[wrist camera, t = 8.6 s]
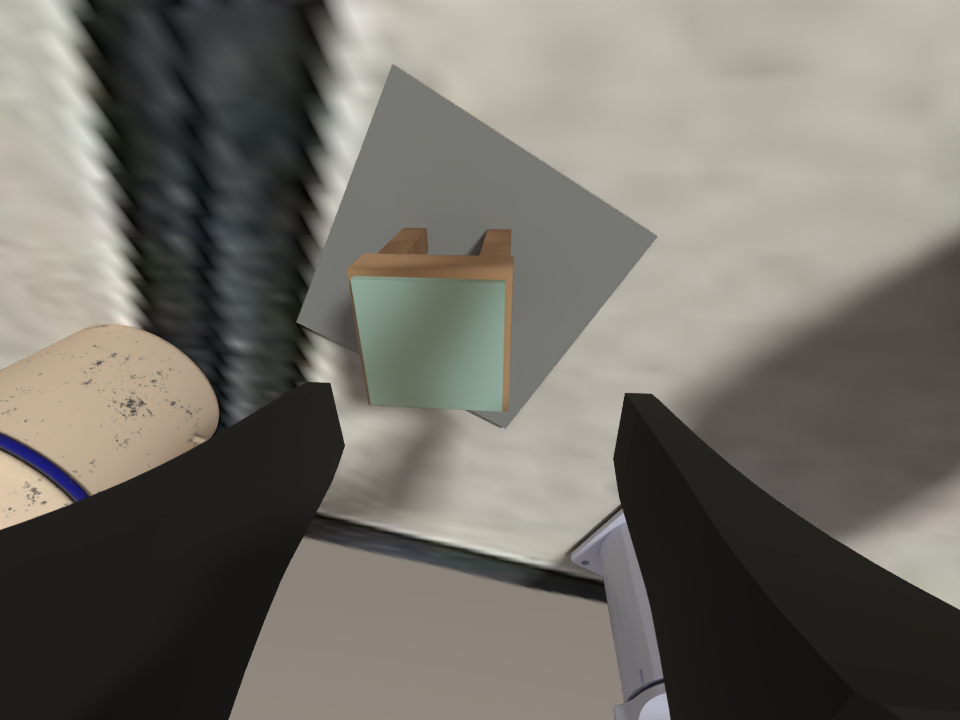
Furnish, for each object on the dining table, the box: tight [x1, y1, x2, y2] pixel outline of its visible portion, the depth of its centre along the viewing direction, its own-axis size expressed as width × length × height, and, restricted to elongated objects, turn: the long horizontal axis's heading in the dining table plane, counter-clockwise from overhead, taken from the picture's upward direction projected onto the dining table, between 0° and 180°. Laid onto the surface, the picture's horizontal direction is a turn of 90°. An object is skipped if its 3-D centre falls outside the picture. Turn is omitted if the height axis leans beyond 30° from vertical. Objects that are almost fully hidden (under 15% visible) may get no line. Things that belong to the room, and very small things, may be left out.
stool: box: [346, 228, 514, 412], centre depth 17 cm, size 5×5×6 cm
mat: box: [297, 65, 657, 429], centre depth 20 cm, size 12×12×1 cm
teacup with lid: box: [0, 324, 219, 530], centre depth 20 cm, size 12×9×12 cm
